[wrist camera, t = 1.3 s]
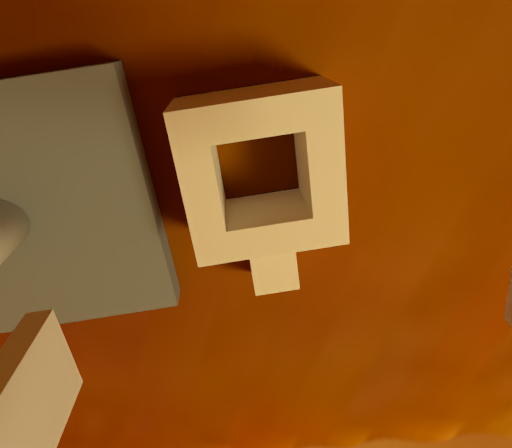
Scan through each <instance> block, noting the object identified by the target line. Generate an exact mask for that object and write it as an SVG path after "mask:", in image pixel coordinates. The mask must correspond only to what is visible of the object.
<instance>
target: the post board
mask: <svg viewBox="0 0 512 448" xmlns="http://www.w3.org/2000/svg"><path fill="white" fill-rule="evenodd" d="M179 295H180V286H179V282H178V278H177V275H176V271H175V267H174V263H173V259H172V255H171V251H170V247H169V243H168V240H167V236H166V232H165V228H164V224H163V220H162V216H161V212H160V208H159V205H158V201H157V197H156V193H155V189H154V185H153V181H152V177H151V173H150V170H149V166H148V162H147V158H146V154H145V150H144V146H143V142H142V139H141V135H140V131H139V127H138V123H137V119H136V115H135V111H134V107H133V104H132V100H131V96H130V92H129V88H128V84H127V80H126V76H125V72H124V69H123V65H122V61H121V60H120V61H113V62H107V63H100V64H94V65H87V66H80V67H74V68H67V69H61V70H54V71H48V72H41V73H35V74H28V75H22V76H15V77H8V78H2V79H0V333H5V332H11V331H14V329H15V328H16V326H17V325H18V323H19V322H20V321H21V319H22V318H23V316H24V315H25V313H30V312H36V311H43V310H50V309H53V310H54V313H55V315H56V318H57V320H58V323H59V324H63V323H69V322H76V321H82V320H89V319H95V318H101V317H108V316H114V315H121V314H127V313H134V312H140V311H147V310H153V309H159V308H166V307H172V306H178V301H179Z"/></svg>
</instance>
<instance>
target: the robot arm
mask: <svg viewBox="0 0 512 448" xmlns="http://www.w3.org/2000/svg"><path fill="white" fill-rule="evenodd" d="M504 319H505V320H506V322H507V323H508V324H509V325H510V326H511V327H512V269H511V276H510V282H509V289H508V296H507V302H506V309H505V315H504ZM82 383H83V381H82V378H81V376H80V373H79V371H78V369H77V366H76V364H75V361H74V359H73V356H72V354H71V352H70V349H69V347H68V344H67V342H66V340H65V337H64V335H63V332H62V330H61V327H60V325H59V323H58V320H57V318H56V315H55V313H54V310H53V309H50V310H43V311H36V312H30V313H25V315H24V316H23V318H22V319H21V321H20V322H19V323H18V325H17V326H16V328H15V329H14V331H13V332H12V333H11V335H10V336H9V338H8V339H7V341H6V342H5V343H4V345H3V346H2V348H1V349H0V448H57V445H58V443H59V440H60V438H61V435H62V433H63V430H64V428H65V425H66V423H67V420H68V418H69V415H70V413H71V410H72V408H73V405H74V403H75V400H76V398H77V395H78V393H79V390H80V388H81V385H82Z"/></svg>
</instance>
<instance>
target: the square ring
mask: <svg viewBox="0 0 512 448" xmlns="http://www.w3.org/2000/svg"><path fill="white" fill-rule="evenodd" d="M163 116H164V121H165V125H166V129H167V134H168V138H169V142H170V147H171V151H172V155H173V160H174V164H175V168H176V173H177V177H178V182H179V186H180V190H181V195H182V199H183V203H184V208H185V212H186V216H187V221H188V225H189V230H190V234H191V238H192V243H193V247H194V251H195V256H196V260H197V264H198V267H203V266H210V265H216V264H223V263H229V262H236V261H242V260H249V259H250V265H251V271H252V277H253V283H254V289H255V295H256V296H258V295H264V294H271V293H277V292H284V291H290V290H297V289H300V286H299V277H298V268H297V259H296V252H300V251H307V250H313V249H320V248H326V247H332V246H339V245H345V244H350V243H349V223H348V202H347V181H346V160H345V139H344V118H343V97H342V85H340V84H338V83H336V82H334V81H332V80H330V79H328V78H325V77H323V76H321V75H320V76H313V77H307V78H300V79H294V80H287V81H281V82H274V83H268V84H261V85H255V86H248V87H242V88H235V89H229V90H222V91H215V92H209V93H202V94H196V95H189V96H183V97H176V98H173V100H172V101H171V102H170V104H169V105H168V106H167V108H166V109H165V111H164V112H163ZM292 133H294V143H295V153H296V163H297V173H298V183H299V188H297V189H291V190H284V191H278V192H271V193H265V194H258V195H252V196H245V197H239V198H232V199H226V198H225V192H224V187H223V181H222V176H221V170H220V165H219V159H218V154H217V148H216V145H220V144H227V143H233V142H240V141H246V140H253V139H259V138H266V137H272V136H279V135H285V134H292Z"/></svg>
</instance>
